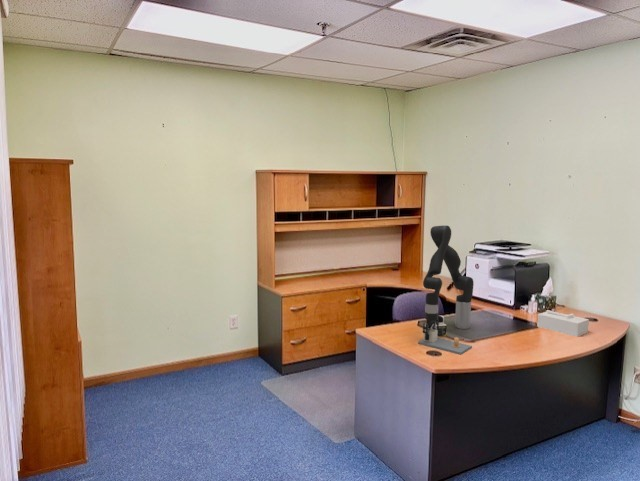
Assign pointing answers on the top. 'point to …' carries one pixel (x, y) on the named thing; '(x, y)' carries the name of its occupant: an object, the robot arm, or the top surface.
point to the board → (447, 345)
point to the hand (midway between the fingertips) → (430, 338)
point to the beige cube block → (432, 335)
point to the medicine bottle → (441, 327)
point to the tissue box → (563, 323)
